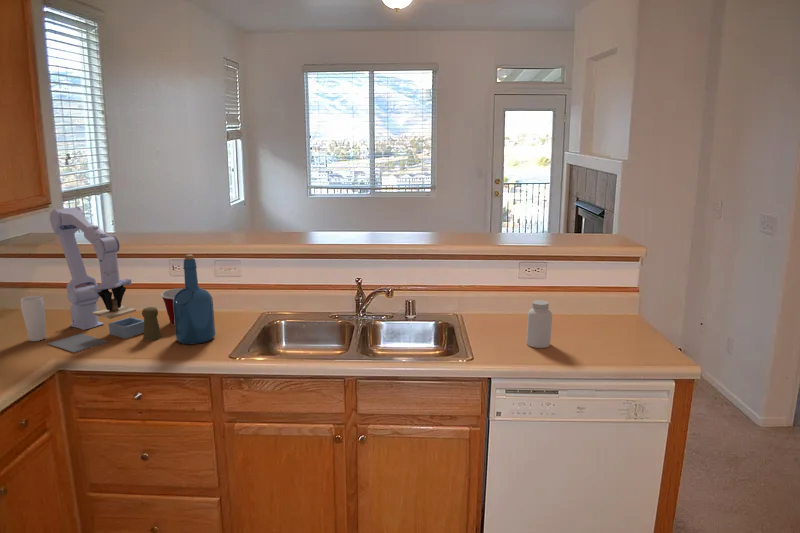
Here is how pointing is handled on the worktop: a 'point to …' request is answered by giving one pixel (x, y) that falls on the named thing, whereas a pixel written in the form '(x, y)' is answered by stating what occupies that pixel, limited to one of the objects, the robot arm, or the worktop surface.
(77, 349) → the mat
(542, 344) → the pill bottle
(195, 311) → the wine bottle
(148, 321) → the olive green shaker
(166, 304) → the plastic cup
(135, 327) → the dish
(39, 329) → the drinking glass
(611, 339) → the worktop surface
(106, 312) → the lid
